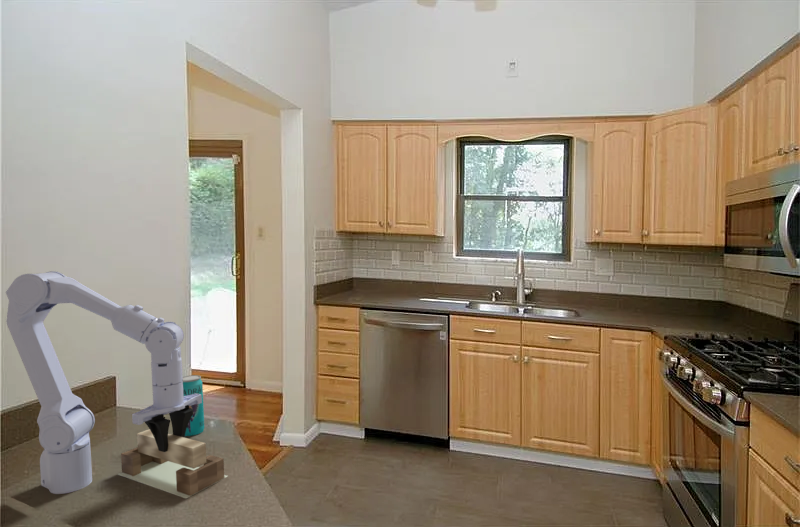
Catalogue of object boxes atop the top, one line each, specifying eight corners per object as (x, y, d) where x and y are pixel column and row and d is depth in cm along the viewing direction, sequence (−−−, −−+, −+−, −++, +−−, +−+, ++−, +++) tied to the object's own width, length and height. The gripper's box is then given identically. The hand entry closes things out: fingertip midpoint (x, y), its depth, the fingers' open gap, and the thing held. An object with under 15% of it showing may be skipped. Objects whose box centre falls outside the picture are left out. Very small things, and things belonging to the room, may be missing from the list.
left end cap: (121, 472, 105) (120, 453, 105) (156, 457, 112) (155, 440, 112) (133, 476, 103) (132, 457, 103) (168, 460, 110) (167, 443, 110)
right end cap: (176, 491, 96) (175, 470, 96) (211, 474, 103) (210, 455, 103) (190, 495, 94) (189, 475, 94) (224, 478, 101) (223, 458, 101)
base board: (117, 478, 104) (117, 474, 104) (161, 460, 113) (160, 455, 113) (186, 503, 93) (185, 498, 93) (228, 480, 102) (228, 475, 102)
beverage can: (178, 441, 124) (175, 381, 123) (182, 433, 129) (179, 376, 129) (203, 438, 125) (200, 379, 125) (205, 430, 131) (203, 373, 130)
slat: (137, 452, 106) (136, 433, 106) (151, 446, 109) (150, 428, 109) (193, 468, 97) (192, 448, 97) (206, 462, 100) (205, 443, 100)
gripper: (146, 394, 94) (150, 465, 95) (210, 375, 107) (212, 438, 107) (124, 390, 98) (128, 458, 98) (188, 372, 110) (191, 432, 111)
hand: (170, 447), depth 103 cm, fingers closed on slat, 3 cm apart
